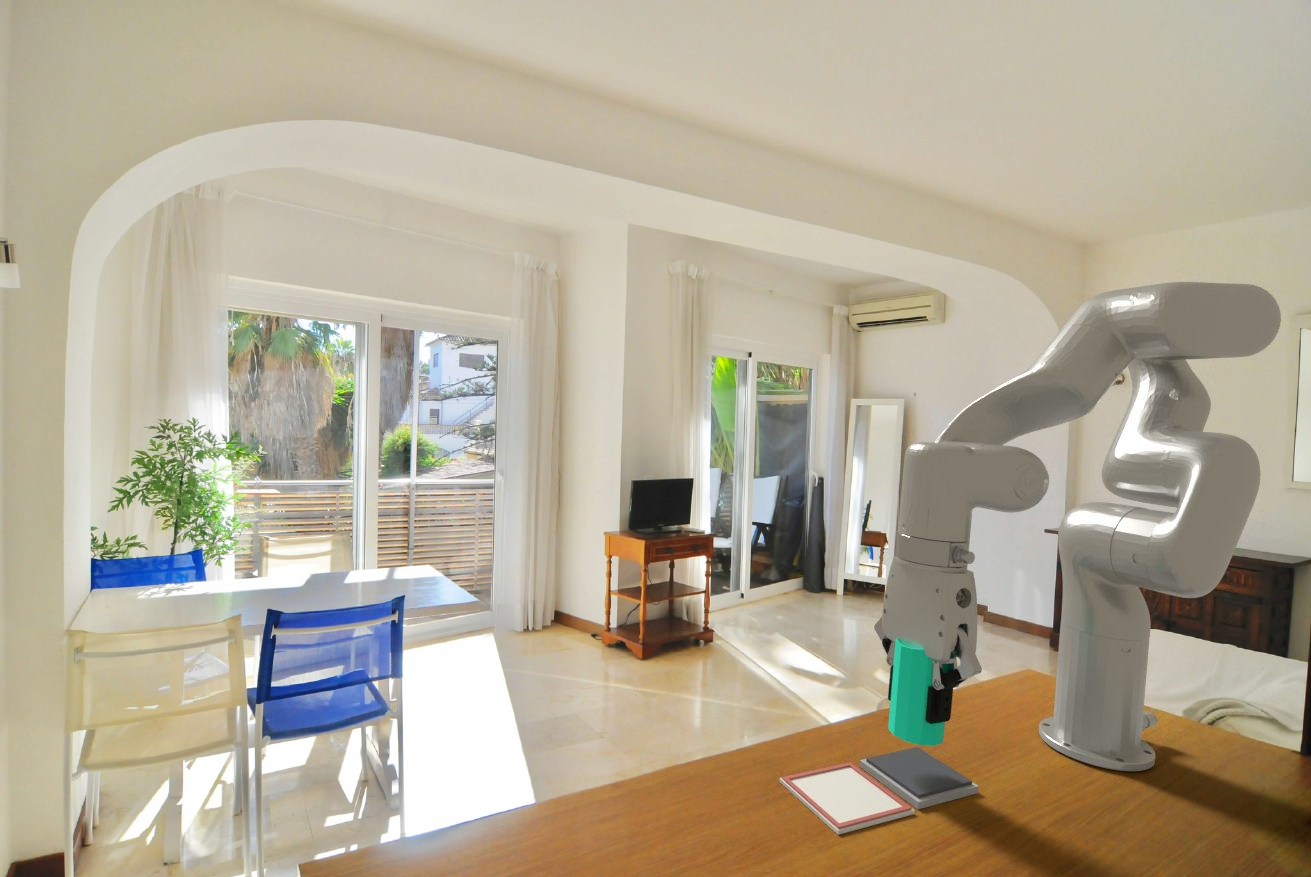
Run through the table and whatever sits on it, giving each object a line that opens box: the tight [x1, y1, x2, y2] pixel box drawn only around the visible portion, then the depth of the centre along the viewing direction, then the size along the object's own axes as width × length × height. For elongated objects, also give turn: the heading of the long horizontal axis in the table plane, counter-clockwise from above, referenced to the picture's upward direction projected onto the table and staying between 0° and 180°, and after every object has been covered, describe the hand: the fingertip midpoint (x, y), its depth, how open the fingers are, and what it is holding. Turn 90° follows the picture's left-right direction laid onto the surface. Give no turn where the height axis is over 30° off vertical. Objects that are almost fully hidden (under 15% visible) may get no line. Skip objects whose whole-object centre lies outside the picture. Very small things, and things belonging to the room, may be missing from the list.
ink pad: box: [859, 746, 980, 810], centre depth 78 cm, size 9×9×1 cm
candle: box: [887, 639, 948, 747], centre depth 77 cm, size 6×6×12 cm
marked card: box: [778, 761, 915, 836], centre depth 73 cm, size 10×10×1 cm
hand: (918, 708), depth 77 cm, fingers closed on candle, 4 cm apart
